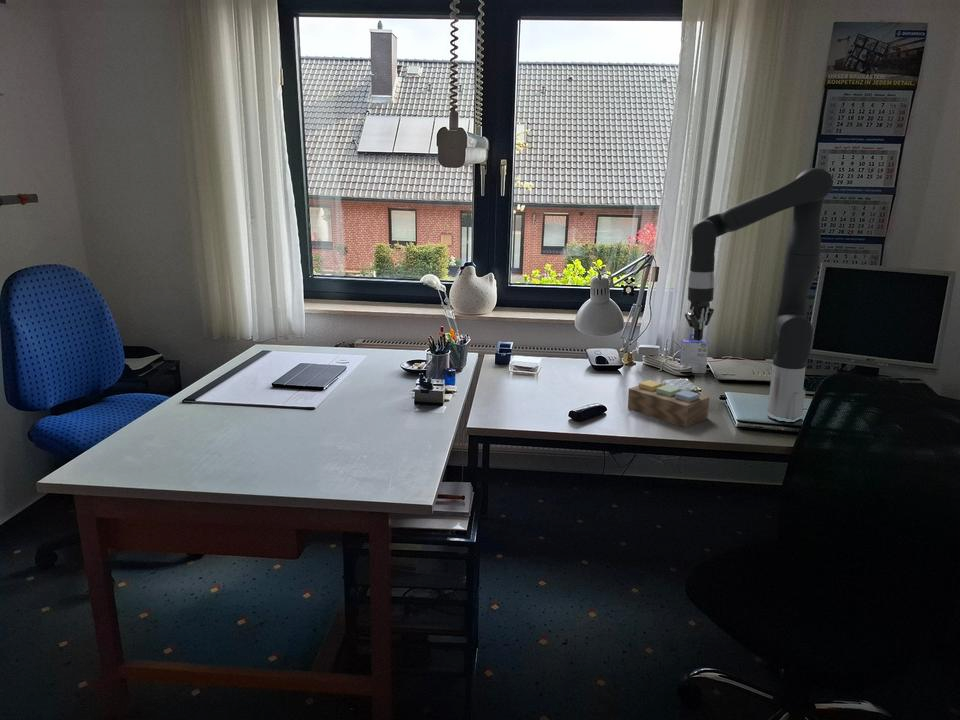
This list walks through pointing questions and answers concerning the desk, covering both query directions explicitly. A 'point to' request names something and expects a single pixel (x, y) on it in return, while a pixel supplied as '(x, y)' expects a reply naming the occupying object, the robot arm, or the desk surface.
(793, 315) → the robot arm
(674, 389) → the button sage
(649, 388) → the button ochre
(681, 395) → the button slate
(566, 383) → the desk surface
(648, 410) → the control box
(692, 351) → the ink cartridge box
